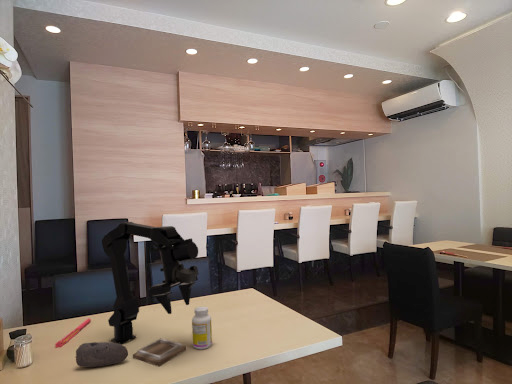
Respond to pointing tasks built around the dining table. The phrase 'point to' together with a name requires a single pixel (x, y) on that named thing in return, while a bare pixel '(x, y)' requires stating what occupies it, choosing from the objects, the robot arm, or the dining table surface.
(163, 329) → the dining table surface
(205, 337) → the supplement bottle
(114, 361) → the perforated stone tool
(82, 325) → the chopstick
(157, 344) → the seat plate
